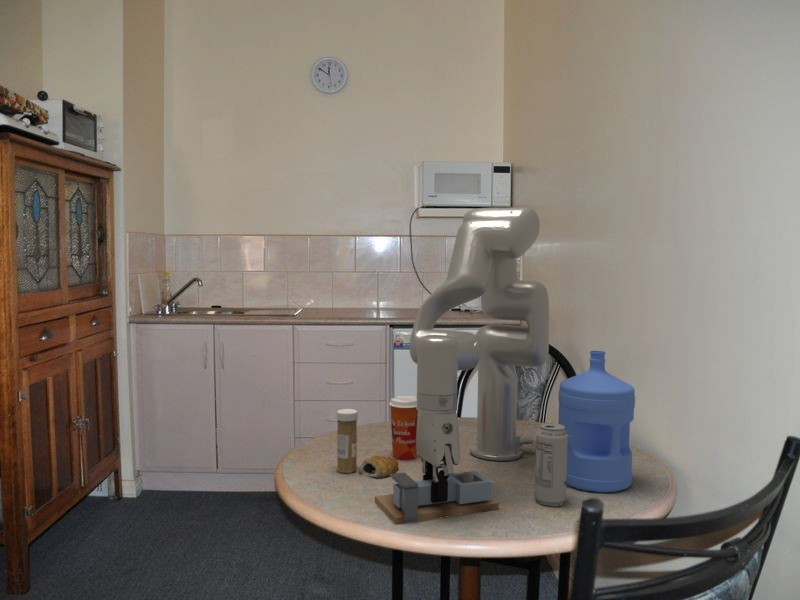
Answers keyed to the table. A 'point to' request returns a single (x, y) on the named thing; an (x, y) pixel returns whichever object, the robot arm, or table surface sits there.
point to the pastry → (378, 466)
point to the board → (435, 506)
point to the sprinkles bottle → (347, 440)
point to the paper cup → (404, 427)
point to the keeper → (408, 496)
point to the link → (451, 490)
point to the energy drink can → (551, 464)
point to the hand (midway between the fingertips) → (434, 497)
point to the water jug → (597, 428)
